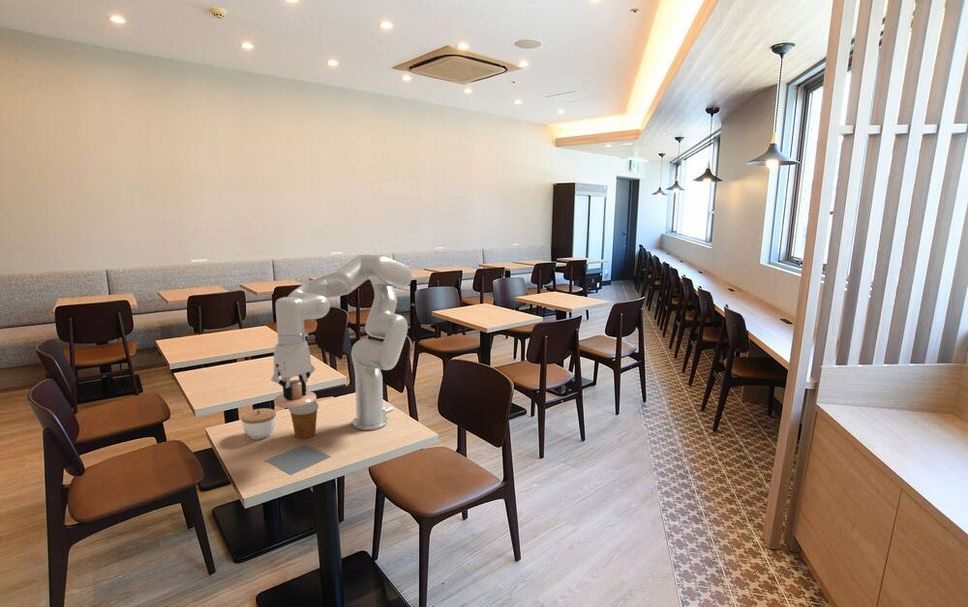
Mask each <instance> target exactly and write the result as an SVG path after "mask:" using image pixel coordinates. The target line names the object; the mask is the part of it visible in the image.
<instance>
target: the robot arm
mask: <svg viewBox="0 0 968 607" xmlns="http://www.w3.org/2000/svg"><path fill="white" fill-rule="evenodd" d="M412 278H413V274H412V270H411V269H410V267H409V266H408V265H406V264H404V263H402V262H399V261H398V260H395V259H392V258H390V257H388V256H384V255H380V254H379V255H378V254H365V253H364V254H359V255H357V256H355V257H354V258H352V259H351V260H350V261H348V262H347V263H345V264H344V265H342V266H341V267H340V268H338V269H336V270H334V271H333V272H331V273H328V274H324V275H322V276H320V277H316V278H314V279H311V280H309V281H306V282H305V283H303V284H301V285H299V287H297V288H295V289H294V290H293V291H292V292H290V294H288V296H285V297H281V298H280V297H279V298H278V299H277V300H276V301H275V315H276V316H275V317H276V318H275V319H276V330H277V331H276V332H277V344H275V346H274V352H273V375H272V377H271V379H270V381H271V382H274V383H276V384H278V385H280V386H281V387H282V394H283V395H284V398H285V399H287V400H292V388H291V387H290V381H291V378H293V377H297V378H298V380H300V381H301V382H302V395H303V396H305V395H306V391H307V382H308V381H309V380H308V379H310V376H311V375H312V374H313V372H315V370H316V368H315V367H314V365H313V364H312V358H311V353H310V349H309V348H310V347H309V344H308V341H307V340H306V337H308V336H309V332H308V331H305V320H318V319H321V318H324V317H325V316H327V314H328V313H329V311H330V308H331V303H330V301H329V298H335V297H341V296H345V295H348V294H351V293H352V292H353V291H354V290H356V289H357V288H358V287H360V286H361V285H362V284H363V283H365V282H366V281H368V280H369V281H370V283H371V285H372V288H373V292H374V298H373V301H372V305H371V308H370V311H369V313H368V316H367V319H366V322H365V326H364V329H365V332H366V333H367V335H368V336H370V337H374V338H377V339H383V341H381V340H380V341H379V340H376V339H369V338H363V339H359V340H357V341H356V342H355V343H354V344H353V346H352V347H351V360H352V364H353V368H354V376H355V377H354V379H355V407H356V408H355V409H356V410H355V411H356V417H355V418H354V419H353V420H352V421H351V422H352V423H351V424H352V426H353V427H354V428H355V429H356V430H361V431H375V430H378V429H381V428H383V427H385V426H386V425H387V424H388V420H389V419H388V417H387V416H386V415H387V414H390V413H392V412H393V411H394V409H393V407H392V406H389V407H385V406H384V399H383V398H384V397H383V395H384V392H383V391H384V390H383V374H382V371H389V370H392V369H394V368H395V366H396V365H397V363H398V361H399V359H400V356H401V354H402V353H401V352H402V351H403V350H402V349H403V347H404V343H405V340H406V338H407V334H408V328H409V326H408V320H406V318H405V317H404V316H403V315H401V314H398V313H395V312H396V309H397V304H398V297H397V293H396V292H395V290H394V288H395V289H396V288H397V289H403V288H407V287H408V286H409V285H410V284H411V282H412ZM381 370H382V371H381ZM279 378H281V379H279Z"/></svg>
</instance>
